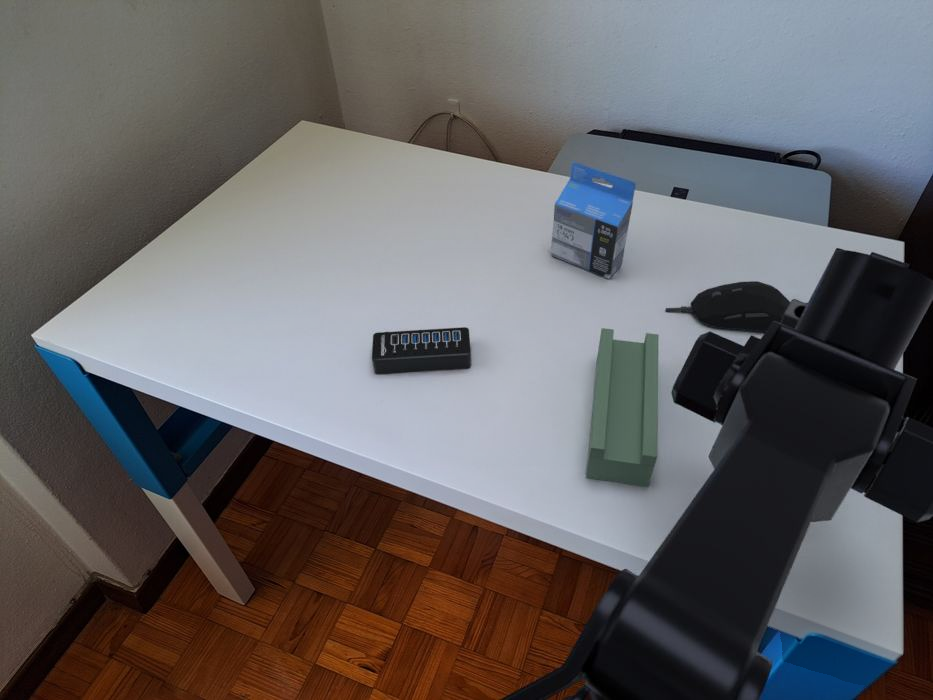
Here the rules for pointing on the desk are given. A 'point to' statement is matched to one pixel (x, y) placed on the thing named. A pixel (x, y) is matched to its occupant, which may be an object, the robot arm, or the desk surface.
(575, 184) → the blue product box
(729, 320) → the gaming mouse
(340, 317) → the desk surface
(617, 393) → the high rail
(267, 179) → the desk surface
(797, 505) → the robot arm
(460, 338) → the multiport hub
